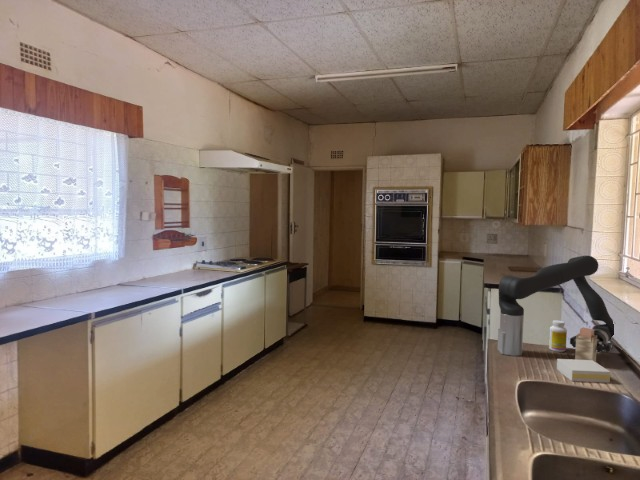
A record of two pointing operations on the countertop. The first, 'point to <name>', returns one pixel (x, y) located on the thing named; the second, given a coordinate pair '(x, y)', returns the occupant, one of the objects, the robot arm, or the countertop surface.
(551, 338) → the supplement bottle
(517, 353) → the robot arm
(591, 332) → the block
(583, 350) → the box
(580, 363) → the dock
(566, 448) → the countertop surface
